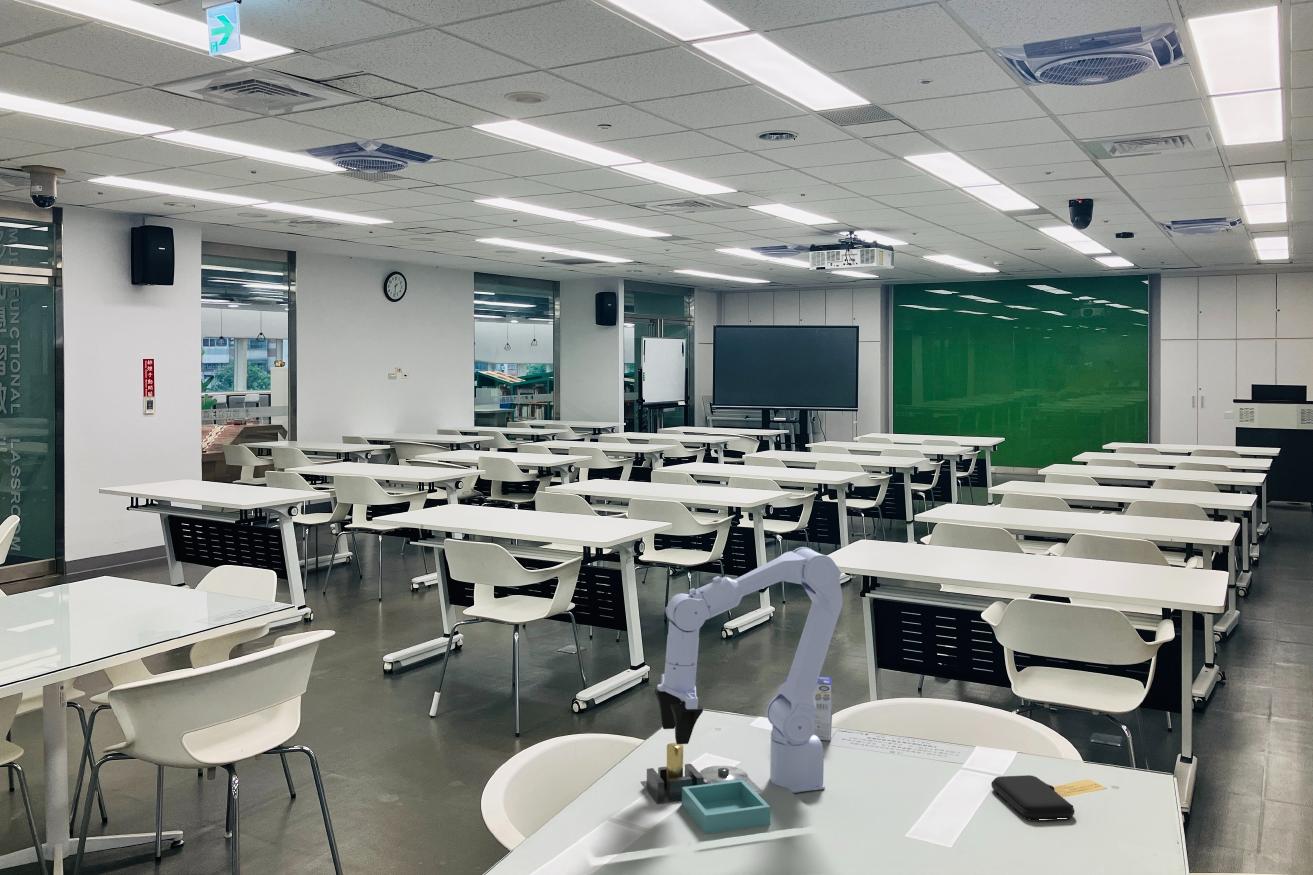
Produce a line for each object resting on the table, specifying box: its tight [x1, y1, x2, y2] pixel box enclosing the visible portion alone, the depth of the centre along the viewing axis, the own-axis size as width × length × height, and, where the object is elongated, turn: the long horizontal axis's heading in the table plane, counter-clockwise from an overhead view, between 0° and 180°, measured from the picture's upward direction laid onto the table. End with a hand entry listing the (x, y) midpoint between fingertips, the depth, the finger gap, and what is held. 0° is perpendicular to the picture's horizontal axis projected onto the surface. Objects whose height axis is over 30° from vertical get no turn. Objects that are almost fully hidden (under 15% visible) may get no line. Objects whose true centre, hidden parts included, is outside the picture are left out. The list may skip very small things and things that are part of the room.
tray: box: [681, 780, 771, 835], centre depth 164 cm, size 12×12×4 cm
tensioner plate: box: [640, 763, 763, 805], centre depth 176 cm, size 20×10×4 cm, turn 108°
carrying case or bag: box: [990, 774, 1075, 821], centre depth 172 cm, size 11×3×15 cm
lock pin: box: [666, 742, 684, 790], centre depth 174 cm, size 3×3×8 cm
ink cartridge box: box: [785, 675, 833, 741], centre depth 204 cm, size 10×6×14 cm, turn 82°
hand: (675, 735), depth 174 cm, fingers open, 7 cm apart
